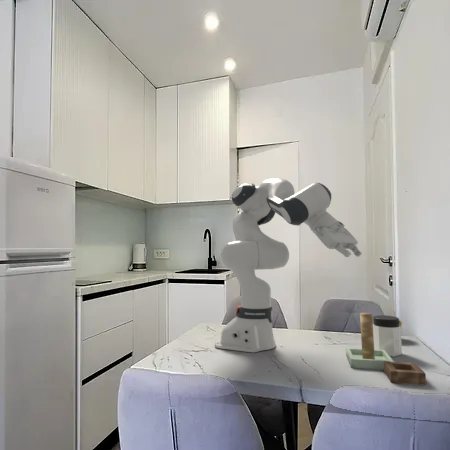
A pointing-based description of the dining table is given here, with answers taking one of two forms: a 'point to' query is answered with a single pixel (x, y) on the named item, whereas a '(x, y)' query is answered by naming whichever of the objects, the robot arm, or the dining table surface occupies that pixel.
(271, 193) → the robot arm
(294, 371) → the dining table surface
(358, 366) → the tray
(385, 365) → the socket block
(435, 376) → the dining table surface
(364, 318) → the dowel
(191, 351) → the dining table surface
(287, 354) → the dining table surface
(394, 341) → the jar
